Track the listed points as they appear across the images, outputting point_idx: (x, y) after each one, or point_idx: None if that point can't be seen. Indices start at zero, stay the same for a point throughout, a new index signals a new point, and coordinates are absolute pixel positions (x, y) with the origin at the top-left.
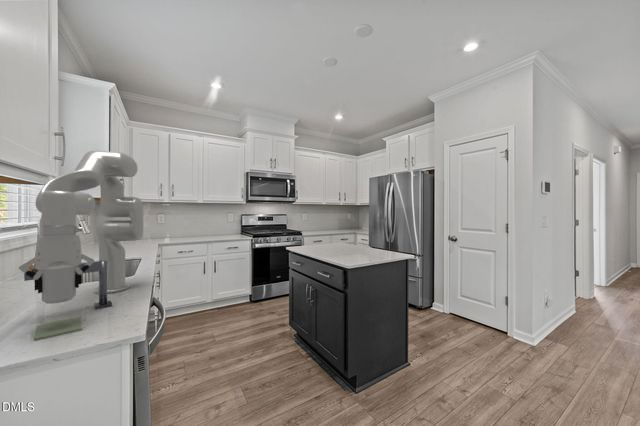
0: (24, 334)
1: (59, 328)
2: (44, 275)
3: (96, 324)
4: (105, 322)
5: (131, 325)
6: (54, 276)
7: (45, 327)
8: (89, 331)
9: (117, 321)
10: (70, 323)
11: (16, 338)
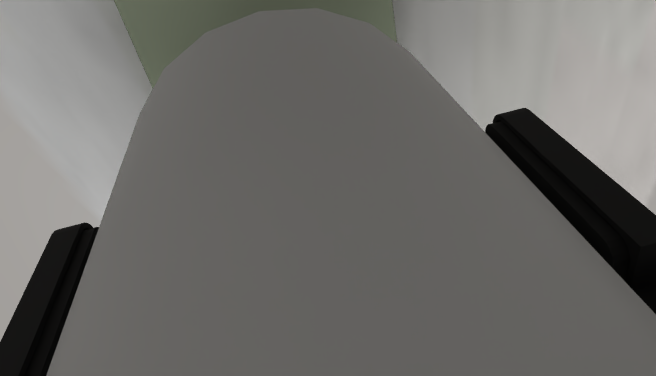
0: (73, 47)
1: None
2: None
3: (473, 71)
4: (520, 58)
5: (614, 175)
6: None
7: (175, 13)
8: None
9: (578, 75)
10: (327, 9)
11: (66, 105)
